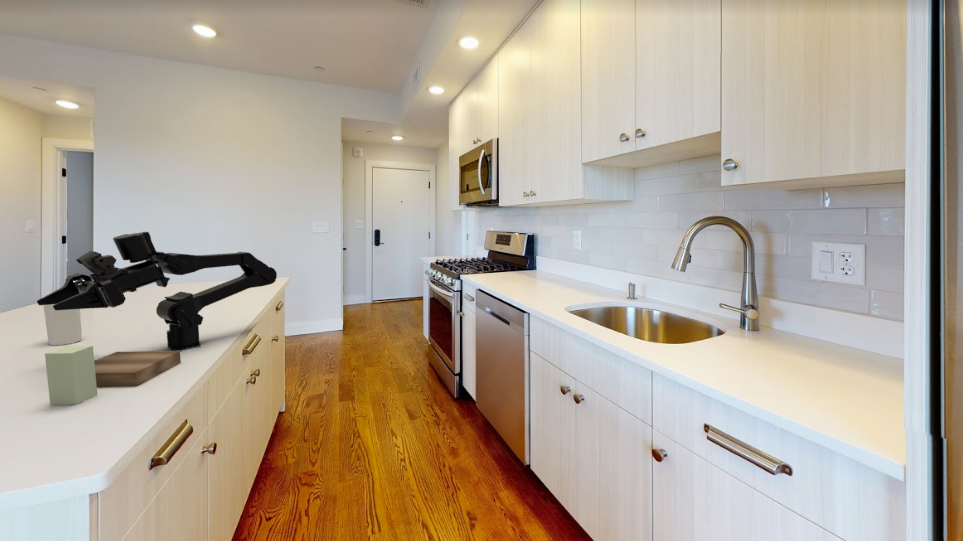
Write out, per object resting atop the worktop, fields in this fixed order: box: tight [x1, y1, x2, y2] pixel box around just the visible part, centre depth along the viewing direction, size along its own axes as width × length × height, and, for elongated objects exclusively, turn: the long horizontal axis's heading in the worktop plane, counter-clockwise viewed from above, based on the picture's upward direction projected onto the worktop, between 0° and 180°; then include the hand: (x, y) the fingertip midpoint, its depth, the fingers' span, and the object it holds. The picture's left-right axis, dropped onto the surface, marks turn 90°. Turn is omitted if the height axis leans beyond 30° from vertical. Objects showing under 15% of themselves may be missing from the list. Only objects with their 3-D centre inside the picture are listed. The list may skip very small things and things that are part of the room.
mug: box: [42, 304, 83, 346], centre depth 106 cm, size 10×7×12 cm, turn 50°
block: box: [44, 345, 98, 406], centre depth 72 cm, size 4×4×10 cm
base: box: [94, 350, 182, 388], centre depth 85 cm, size 14×14×3 cm
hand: (45, 305), depth 81 cm, fingers open, 9 cm apart
